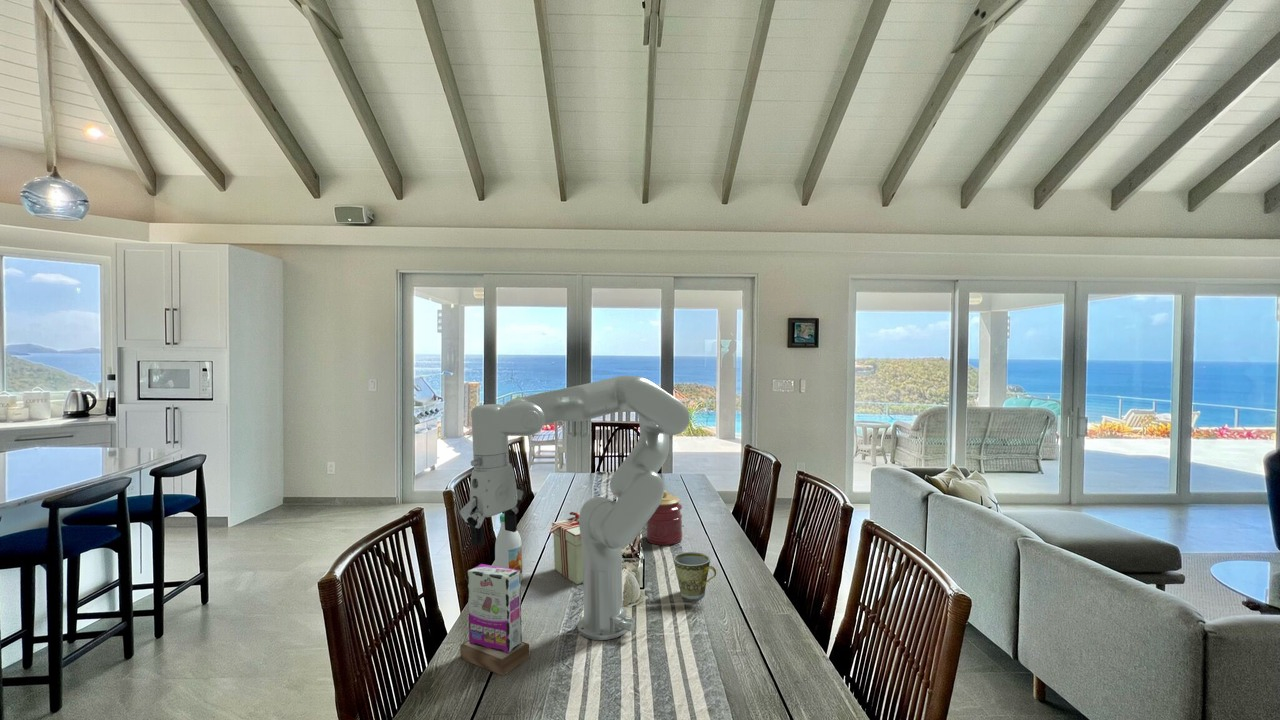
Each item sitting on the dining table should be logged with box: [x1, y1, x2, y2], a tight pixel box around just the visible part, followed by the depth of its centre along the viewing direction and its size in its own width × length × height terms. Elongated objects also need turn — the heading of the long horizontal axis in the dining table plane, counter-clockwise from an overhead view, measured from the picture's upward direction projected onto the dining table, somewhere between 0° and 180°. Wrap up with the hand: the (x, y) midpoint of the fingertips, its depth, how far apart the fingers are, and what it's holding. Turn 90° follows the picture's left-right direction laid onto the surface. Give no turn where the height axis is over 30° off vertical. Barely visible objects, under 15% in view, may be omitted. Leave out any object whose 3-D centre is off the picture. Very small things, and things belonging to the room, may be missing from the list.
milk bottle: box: [494, 512, 523, 583], centre depth 163 cm, size 8×8×20 cm
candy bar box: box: [467, 563, 523, 653], centre depth 122 cm, size 11×5×16 cm, turn 66°
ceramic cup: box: [673, 551, 717, 600], centre depth 151 cm, size 13×10×10 cm
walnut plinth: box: [459, 639, 530, 677], centre depth 122 cm, size 13×8×3 cm, turn 58°
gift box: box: [549, 511, 583, 585], centre depth 168 cm, size 17×18×17 cm
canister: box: [645, 489, 683, 546], centre depth 197 cm, size 13×13×18 cm
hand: (494, 537), depth 122 cm, fingers open, 9 cm apart
